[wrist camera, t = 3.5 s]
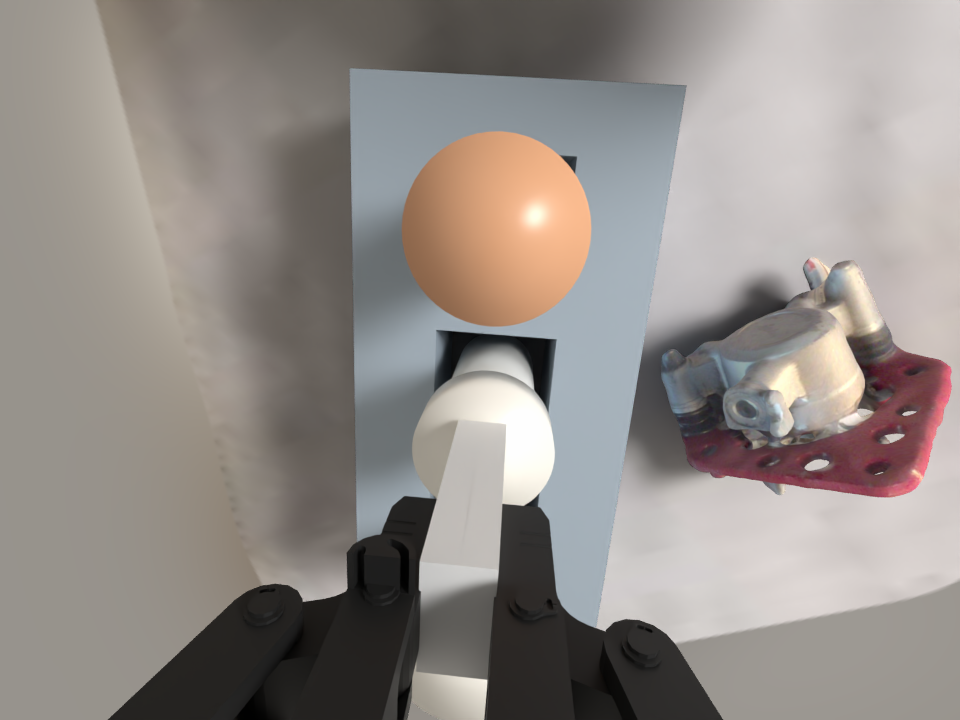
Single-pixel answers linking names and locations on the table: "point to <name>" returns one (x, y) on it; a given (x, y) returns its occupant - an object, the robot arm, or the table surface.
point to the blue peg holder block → (548, 338)
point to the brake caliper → (811, 395)
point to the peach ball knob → (496, 229)
